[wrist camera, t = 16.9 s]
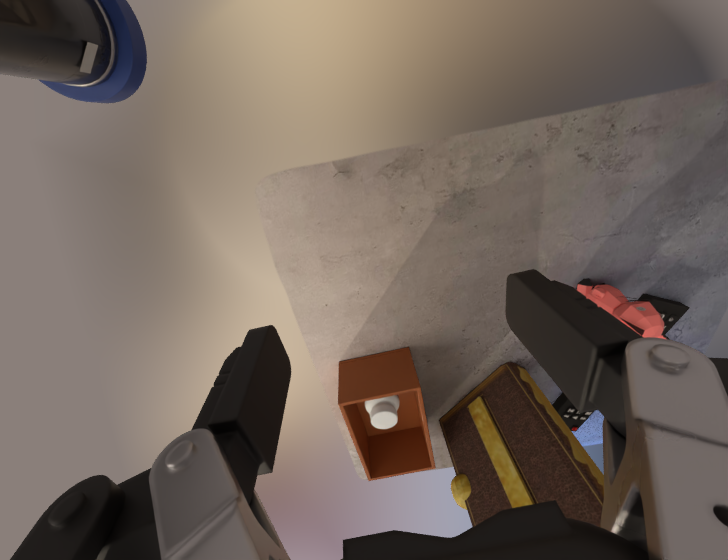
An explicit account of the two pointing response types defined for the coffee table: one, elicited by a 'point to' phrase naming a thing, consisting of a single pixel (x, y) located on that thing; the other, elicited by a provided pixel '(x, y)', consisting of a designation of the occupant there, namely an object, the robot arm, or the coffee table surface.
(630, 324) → the cat figurine
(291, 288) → the coffee table surface
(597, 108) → the coffee table surface
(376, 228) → the coffee table surface
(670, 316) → the remote control
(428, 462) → the orange open bin
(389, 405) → the pill bottle
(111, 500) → the robot arm
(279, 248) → the coffee table surface
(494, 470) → the book
